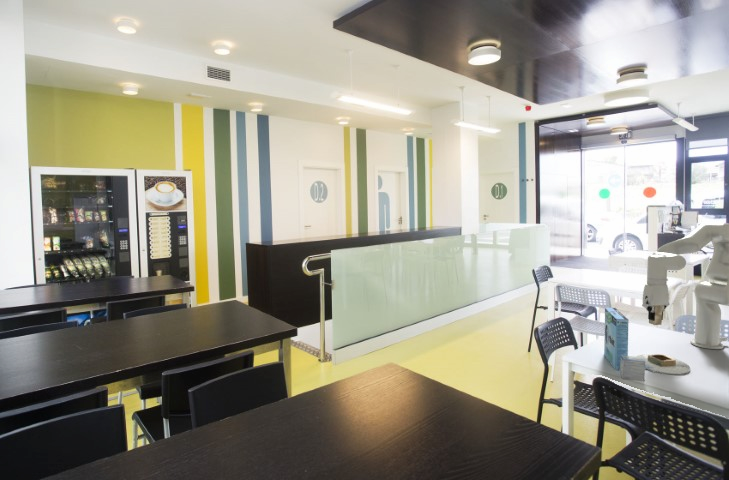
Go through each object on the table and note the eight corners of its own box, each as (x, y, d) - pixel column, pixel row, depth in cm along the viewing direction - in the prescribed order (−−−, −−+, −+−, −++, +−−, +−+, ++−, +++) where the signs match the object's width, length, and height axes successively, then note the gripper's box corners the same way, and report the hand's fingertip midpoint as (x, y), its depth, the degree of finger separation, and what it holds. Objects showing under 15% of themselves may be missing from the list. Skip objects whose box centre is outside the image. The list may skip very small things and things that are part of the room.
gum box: (627, 371, 178) (629, 319, 175) (614, 370, 179) (615, 318, 177) (615, 354, 196) (616, 307, 194) (603, 353, 198) (604, 307, 195)
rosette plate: (662, 355, 194) (662, 347, 194) (702, 372, 174) (702, 364, 174) (623, 358, 191) (624, 351, 191) (660, 376, 172) (660, 368, 171)
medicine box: (641, 377, 172) (642, 356, 171) (644, 381, 168) (645, 361, 167) (619, 374, 174) (620, 355, 174) (622, 379, 170) (623, 359, 169)
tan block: (655, 322, 197) (656, 302, 196) (661, 324, 194) (662, 303, 193) (648, 322, 197) (649, 302, 196) (654, 325, 194) (655, 304, 192)
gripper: (665, 278, 198) (664, 316, 200) (634, 281, 196) (633, 318, 198) (679, 281, 191) (677, 320, 192) (647, 284, 188) (646, 323, 190)
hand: (655, 319), depth 195 cm, fingers closed on tan block, 3 cm apart
